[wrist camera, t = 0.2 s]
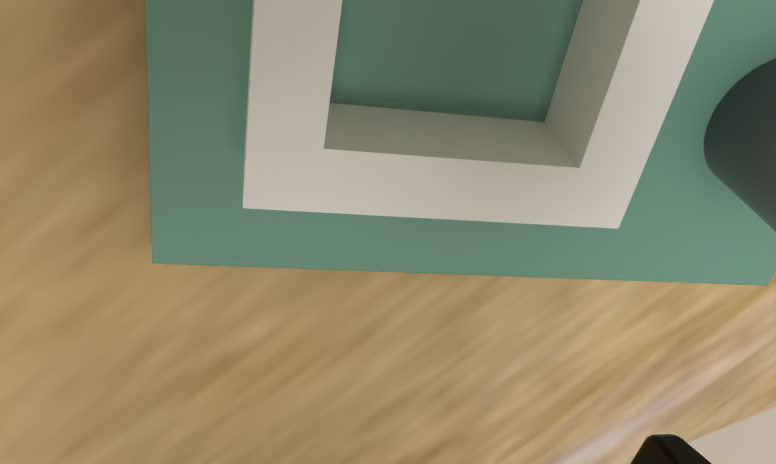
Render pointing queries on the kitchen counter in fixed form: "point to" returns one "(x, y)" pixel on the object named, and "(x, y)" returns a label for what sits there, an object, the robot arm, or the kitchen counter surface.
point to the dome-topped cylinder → (747, 141)
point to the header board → (455, 79)
